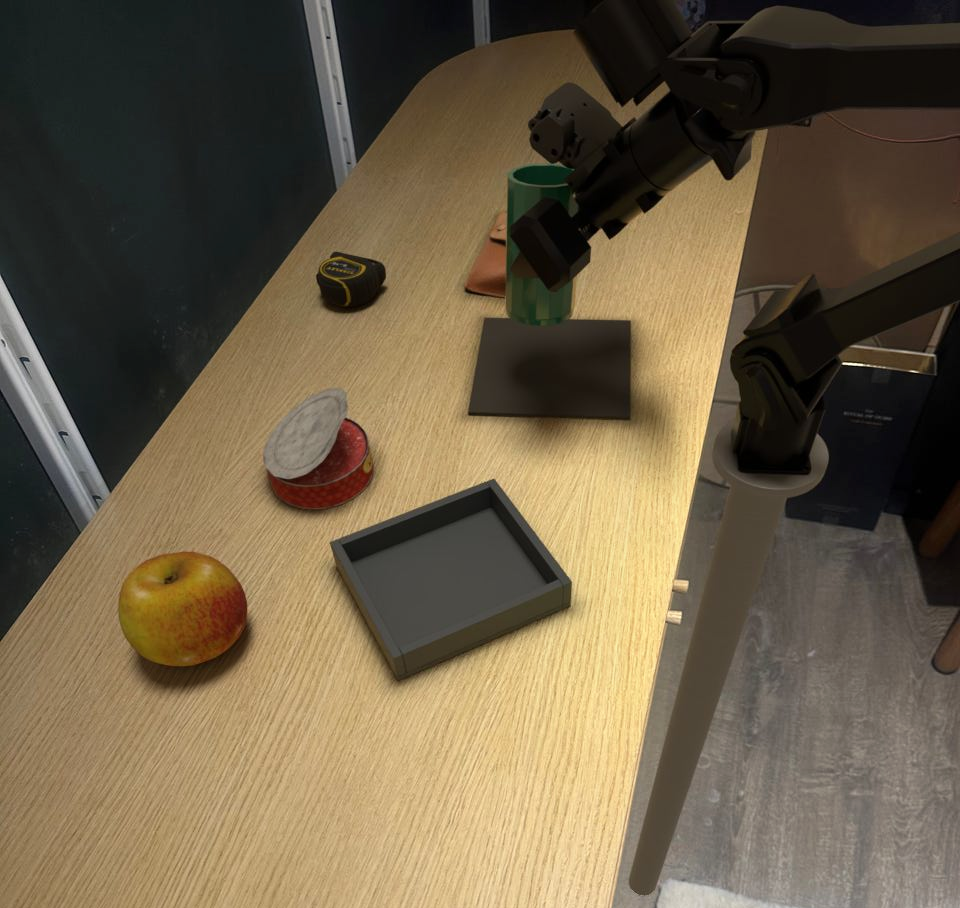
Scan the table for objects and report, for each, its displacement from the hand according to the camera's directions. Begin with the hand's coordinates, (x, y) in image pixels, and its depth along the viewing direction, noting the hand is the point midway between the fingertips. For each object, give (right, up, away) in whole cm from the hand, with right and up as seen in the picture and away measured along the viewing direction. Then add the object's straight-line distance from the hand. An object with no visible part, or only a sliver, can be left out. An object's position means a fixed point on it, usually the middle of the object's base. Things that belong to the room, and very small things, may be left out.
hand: (535, 253), depth 79 cm
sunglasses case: (-1, +10, +23) cm, 25 cm away
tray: (-8, -31, -7) cm, 33 cm away
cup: (+1, -4, +3) cm, 5 cm away
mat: (+2, -7, +10) cm, 13 cm away
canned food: (-20, -20, +2) cm, 29 cm away
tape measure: (-20, +4, +20) cm, 29 cm away
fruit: (-28, -36, -9) cm, 46 cm away
